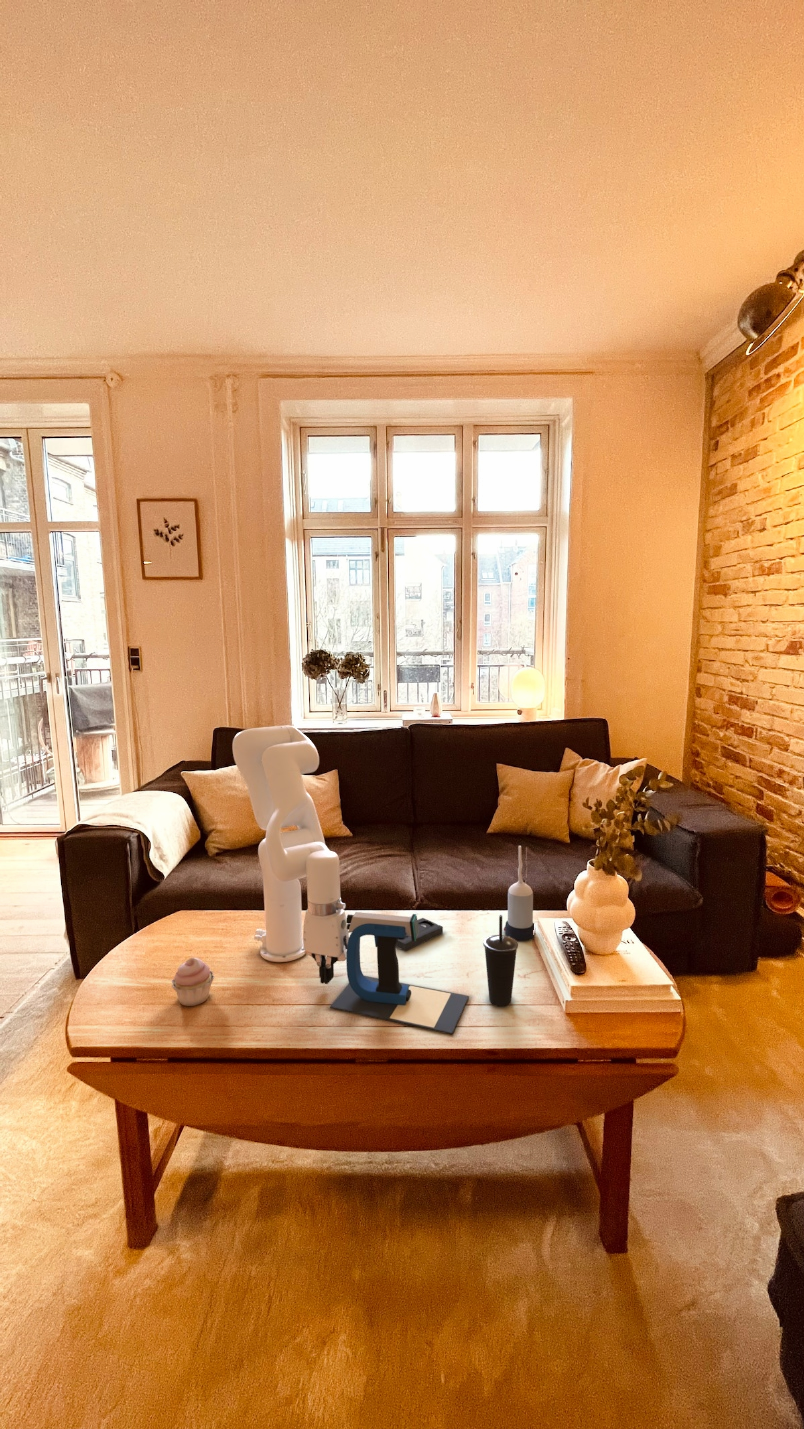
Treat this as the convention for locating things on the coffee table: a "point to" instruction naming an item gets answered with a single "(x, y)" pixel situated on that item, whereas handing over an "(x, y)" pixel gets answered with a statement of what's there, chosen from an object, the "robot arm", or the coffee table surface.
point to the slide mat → (409, 1008)
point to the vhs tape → (420, 934)
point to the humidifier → (520, 909)
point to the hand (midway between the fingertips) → (326, 980)
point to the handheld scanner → (379, 955)
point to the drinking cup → (500, 966)
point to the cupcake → (193, 982)
